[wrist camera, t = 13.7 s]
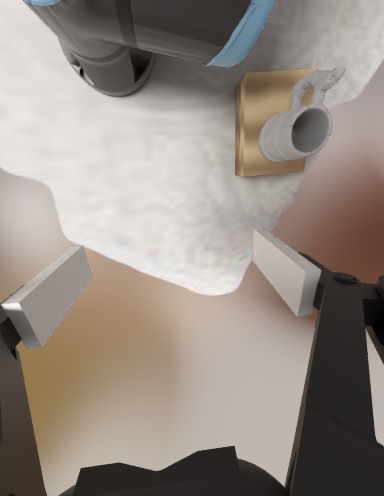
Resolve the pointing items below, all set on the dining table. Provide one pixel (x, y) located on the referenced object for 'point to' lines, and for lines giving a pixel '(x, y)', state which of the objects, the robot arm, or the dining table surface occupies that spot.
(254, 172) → the wooden block
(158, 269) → the dining table surface
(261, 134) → the mug
